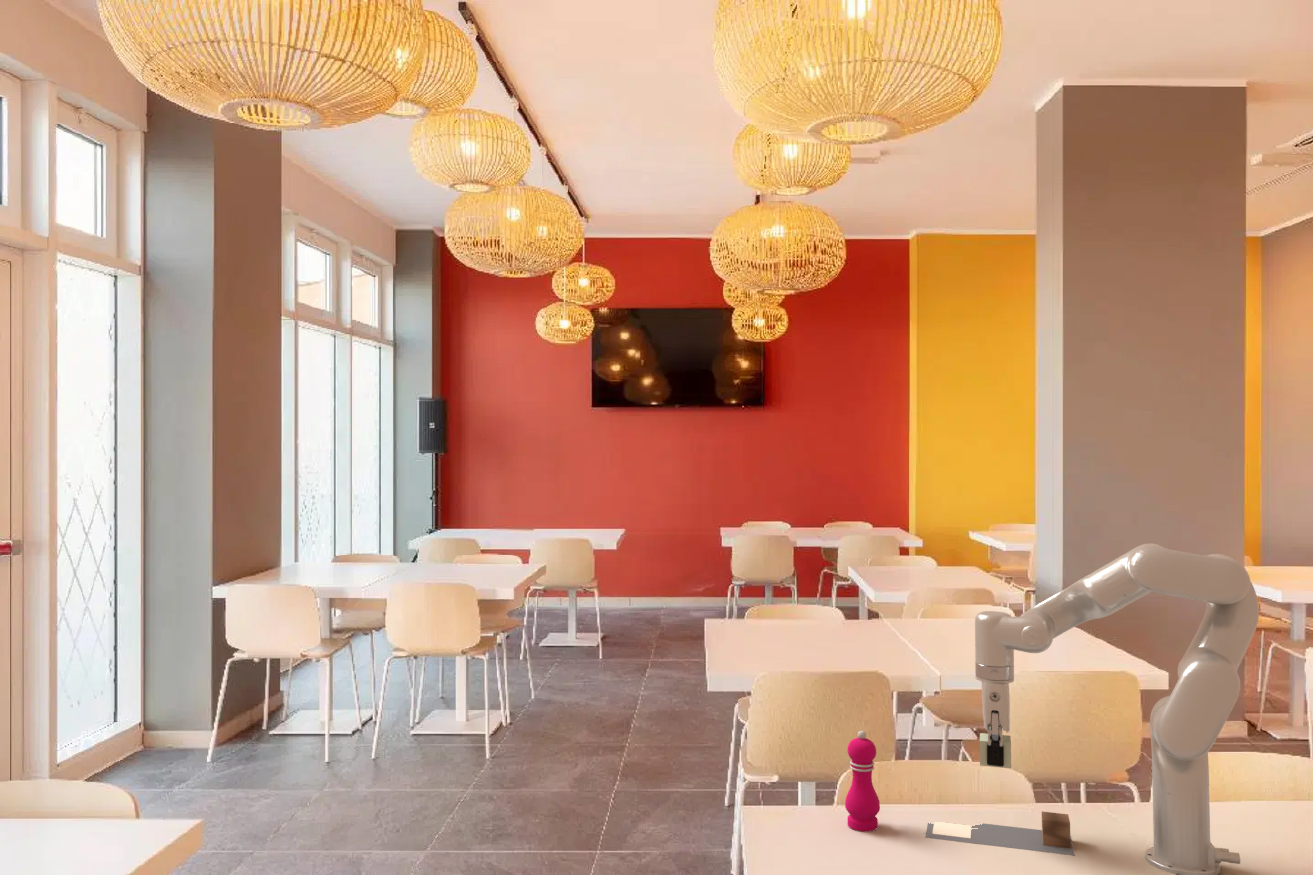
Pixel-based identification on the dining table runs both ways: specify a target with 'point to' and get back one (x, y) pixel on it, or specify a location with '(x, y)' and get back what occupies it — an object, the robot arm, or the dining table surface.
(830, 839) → the dining table surface
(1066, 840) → the walnut cube
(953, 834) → the build mat
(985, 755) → the sage block
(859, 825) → the pepper mill
